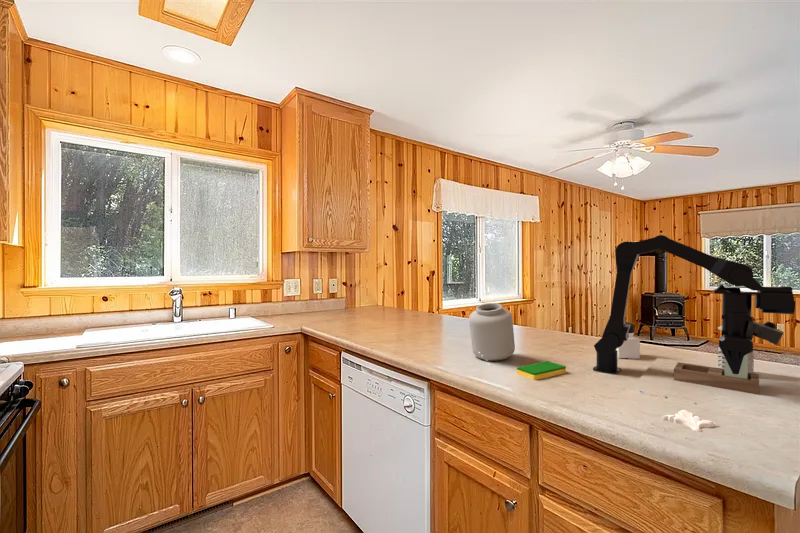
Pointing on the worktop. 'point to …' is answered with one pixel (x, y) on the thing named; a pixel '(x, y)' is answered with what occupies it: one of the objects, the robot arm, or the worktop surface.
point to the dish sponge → (541, 370)
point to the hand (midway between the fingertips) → (735, 370)
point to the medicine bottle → (630, 346)
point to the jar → (492, 332)
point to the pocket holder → (715, 378)
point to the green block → (743, 370)
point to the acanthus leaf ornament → (689, 420)
